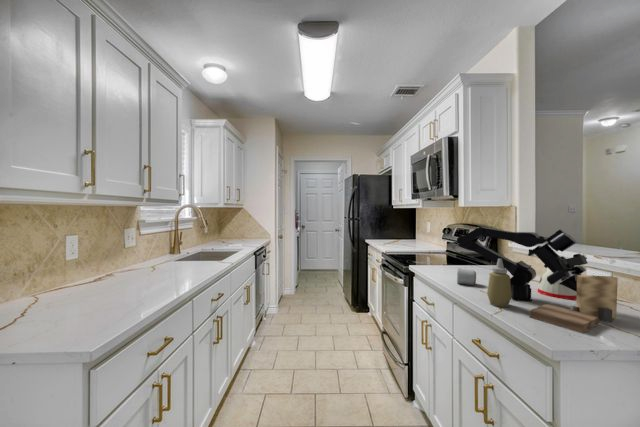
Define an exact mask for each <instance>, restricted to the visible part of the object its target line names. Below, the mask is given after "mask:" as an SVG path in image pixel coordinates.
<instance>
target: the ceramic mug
mask: <svg viewBox="0 0 640 427" xmlns="http://www.w3.org/2000/svg"><path fill="white" fill-rule="evenodd" d="M456 276H457V277H456V278H457V279H456V284H460V285H468V286H475V285H476V282H477V272H476V271H475V270H473V269H468V268H467V269H466V268H462V267H457V275H456Z"/></svg>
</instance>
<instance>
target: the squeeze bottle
mask: <svg viewBox="0 0 640 427" xmlns="http://www.w3.org/2000/svg"><path fill="white" fill-rule="evenodd" d="M510 278H511V276H510V275H509V274H508V270H507V269H506V268H504V266H503V262H502V259H498V261H497V264H496V266H493V267H492V272H490V273H489V278H488V285H487V290H486V291H487V292H486V295H487V297H488V301H489V303H490V304H491V305H492V306H496V307H501V308H502V307H503V308H507V307H509V304H510V302H511V300H512V294H511V284H510Z"/></svg>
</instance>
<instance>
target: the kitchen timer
mask: <svg viewBox="0 0 640 427" xmlns="http://www.w3.org/2000/svg"><path fill="white" fill-rule="evenodd" d="M551 274H553V272H552V271H551V270H550V269H548V270H546V272H544V273H543V275H541V276H540V277H539V279H538V285H537V293H539V294H541V295H544V296H548V297H550V298H556V299H561V300H577V292H576V291H574V290H572V289H570V288H568V287H565V286H563V285H560V284H559V283H561V282H562V281H561V280H562V279H560V280H559V281H557V282H555V284H552V285H551V284H550V283H549V282H548V281H547V277H548V276H549V275H551Z"/></svg>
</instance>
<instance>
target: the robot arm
mask: <svg viewBox="0 0 640 427" xmlns="http://www.w3.org/2000/svg"><path fill="white" fill-rule="evenodd" d="M482 237H487V238H492V239H493V238H494V239H499V240H504V241H509V242H513V243H515V244H517V245H520V246H523V247H525V248H529V249H528V253H527V255H528V256H529V257H534V256H536V257H537V259H539V260H540V261H541V263H543V264H544V265H543V267H544V268H545V269H547V268H548V270H551V271H552V272H553V274H551V275H549V276H548V277H547V281H548V282H549V283H550V284H551V285H552V284H555V282H557V281H559V280H560V279H562V280H561V281H562V282H561V283H559V284H560V285H563V286H565V287H568V288H570V289H572V290H574V291H576V292H577V275H583V273H585V272H586V271H587V269H585V267H583V265H587V264H588V265H589V262H588V261H587V259H588V257H587V256H585V255H584V254H583V255H582V254H581V253H576V254H573V256H572V257H570V258H566V257H565V256H560V255H559V254H558V253H557V252H562V253H563V252H565V251H566V250H567V249H570V248H571V247H572V246H574V245H576V244H577V243H578V242H577V240H576V239H575V238H574V237H572V236H571V235H570V234H569V233H567V232H565V231H563V229H558V230H557V231H555V233H553V234H552V235H550V236H549V237H547V236H542V235H540V234H538V233H537V232H533V231H509V230H503V229H497V228H490V227H486V226H478V227H476V228H475V229H473V230H472V231H470V232H468V233H466V234H464V235H460V236H458V237H457V239H456V243H457V245H458V247H460V248H462V249H465V250H467V251H471V252H474V253H477V254H478V255H480V256H482V257H484V258H485V259H488V260H489V261H491V262H493V263H494V264H496V265H497V261H498V259H502V262H503V266H504V268H506V269H507V272H508V273H510V275H511V276H510V284H511V294H512V298H511V300H514V301H522V302H523V301H526V302H533V299H531V298H532V288H531V285H530V282H532V281H533V280H534V279H535V278H536V277H537V272H536V269H535V268H533V267H532V265H531V264H527V262H525V261H523V260H520V261H519V260H518V261H517V262H516V261H514V260H511V259H510V258H507V257H506V256H504V255H502V254H500V253H498V252H496V251H495V250H493V249H490V248H489V247H487V246H485V245H484V244H482V243H481V242H480V241H479V239H480V238H482ZM535 246H536V247H535ZM533 247H535V248H533Z"/></svg>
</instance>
